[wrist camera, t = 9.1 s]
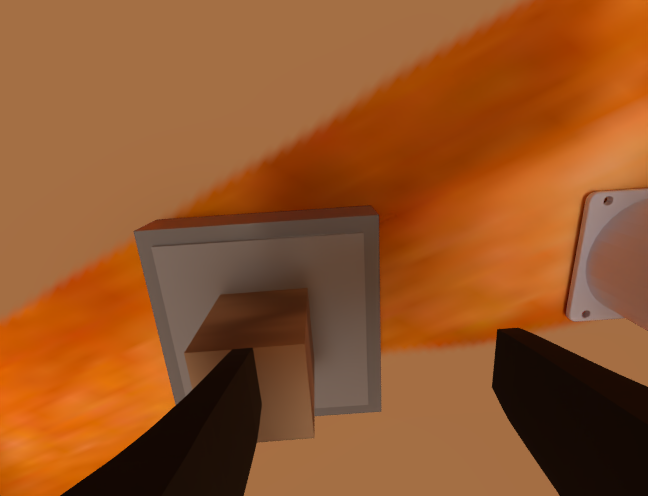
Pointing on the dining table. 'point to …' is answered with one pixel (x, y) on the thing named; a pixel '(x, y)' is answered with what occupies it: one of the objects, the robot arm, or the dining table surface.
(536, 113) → the dining table surface
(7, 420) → the dining table surface
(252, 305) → the block
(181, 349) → the tray
